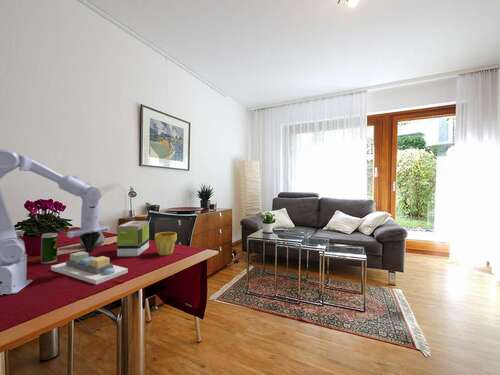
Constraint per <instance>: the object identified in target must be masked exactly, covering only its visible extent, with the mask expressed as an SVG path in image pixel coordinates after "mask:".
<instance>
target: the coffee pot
mask: <svg viewBox="0 0 500 375" xmlns="http://www.w3.org/2000/svg"><path fill="white" fill-rule="evenodd" d="M100 223H101V221H99V224H100ZM98 233H100V237H99V238H98V240H97V242H96V244H95V246H94V248H97V247H100V246H102V244H103V243H104V242H105V241H106V237H105V236H104V234H103V232H98ZM79 244H80V245H81V246H82V247H84V248H85V246H84V244H83V242H82V240H81V239H80V240H79Z"/></svg>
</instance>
